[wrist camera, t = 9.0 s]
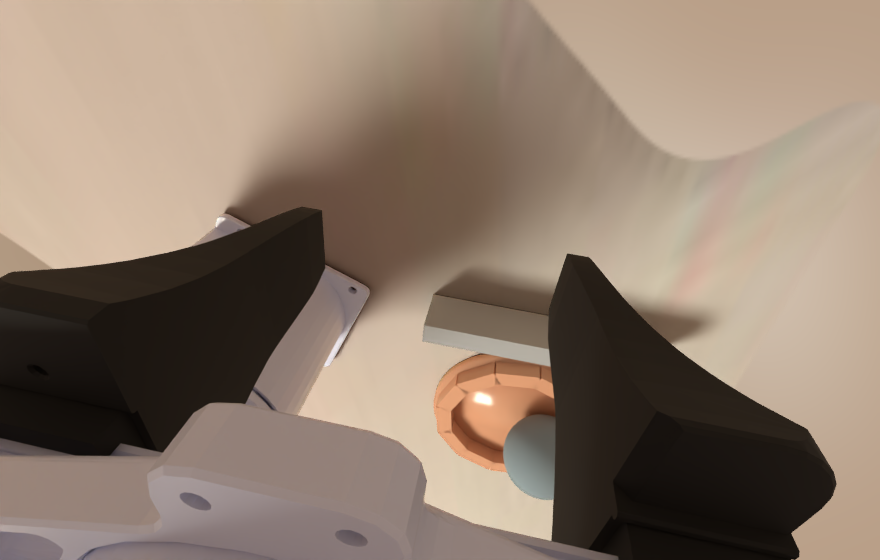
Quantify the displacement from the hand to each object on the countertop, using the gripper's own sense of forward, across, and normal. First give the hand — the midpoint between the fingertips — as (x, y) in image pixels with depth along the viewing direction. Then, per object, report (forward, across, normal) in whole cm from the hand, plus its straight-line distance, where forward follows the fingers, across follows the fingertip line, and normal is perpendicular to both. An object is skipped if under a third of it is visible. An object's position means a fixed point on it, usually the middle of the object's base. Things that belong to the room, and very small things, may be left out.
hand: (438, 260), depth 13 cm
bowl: (+9, -5, +17) cm, 20 cm away
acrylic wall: (+9, -5, +9) cm, 14 cm away
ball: (+6, -7, +17) cm, 20 cm away
